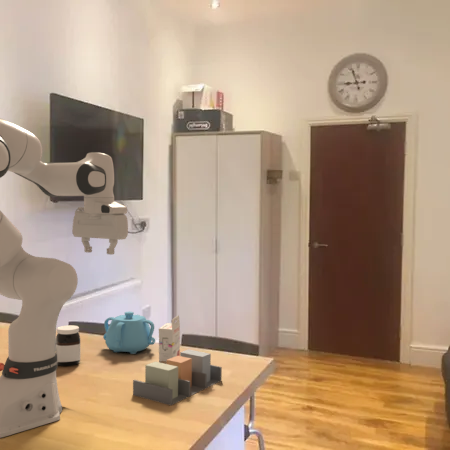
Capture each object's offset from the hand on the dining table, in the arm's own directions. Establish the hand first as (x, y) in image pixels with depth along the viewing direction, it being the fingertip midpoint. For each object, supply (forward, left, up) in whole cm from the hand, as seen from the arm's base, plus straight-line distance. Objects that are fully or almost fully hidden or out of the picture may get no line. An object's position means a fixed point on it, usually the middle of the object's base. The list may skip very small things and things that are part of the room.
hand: (99, 253), depth 163 cm
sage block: (-5, -28, -36) cm, 46 cm away
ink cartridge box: (+24, -8, -37) cm, 45 cm away
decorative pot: (+26, +12, -37) cm, 47 cm away
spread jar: (+2, +19, -37) cm, 42 cm away
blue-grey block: (+11, -28, -36) cm, 47 cm away
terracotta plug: (+3, -28, -36) cm, 46 cm away
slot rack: (+3, -28, -37) cm, 47 cm away
